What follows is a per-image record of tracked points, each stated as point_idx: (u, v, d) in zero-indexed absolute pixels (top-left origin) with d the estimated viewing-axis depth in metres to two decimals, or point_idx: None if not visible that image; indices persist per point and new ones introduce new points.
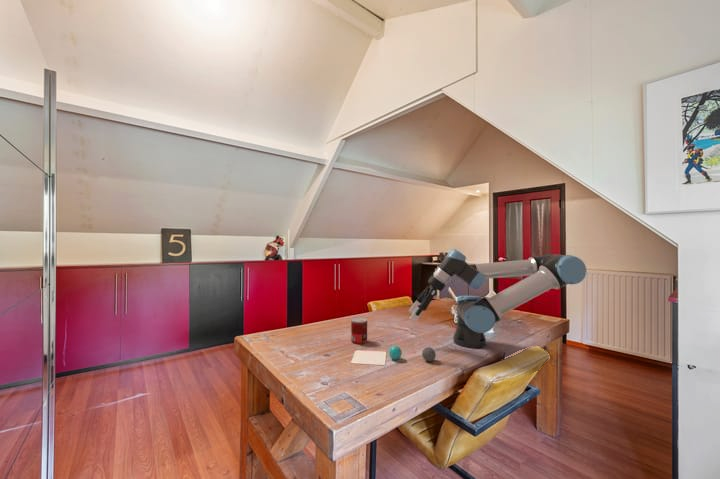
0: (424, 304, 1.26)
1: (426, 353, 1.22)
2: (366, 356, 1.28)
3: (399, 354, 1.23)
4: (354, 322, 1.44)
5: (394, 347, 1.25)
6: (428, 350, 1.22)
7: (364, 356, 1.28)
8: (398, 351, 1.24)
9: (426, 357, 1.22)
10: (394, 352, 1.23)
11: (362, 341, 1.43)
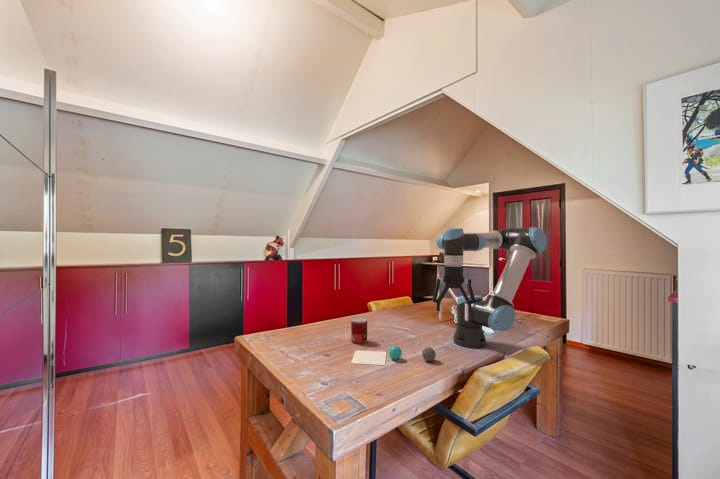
0: None
1: (426, 353, 1.22)
2: (366, 356, 1.28)
3: (399, 354, 1.23)
4: (354, 322, 1.44)
5: (394, 347, 1.25)
6: (428, 350, 1.22)
7: (364, 356, 1.28)
8: (398, 351, 1.24)
9: (426, 357, 1.22)
10: (394, 352, 1.23)
11: (362, 341, 1.43)
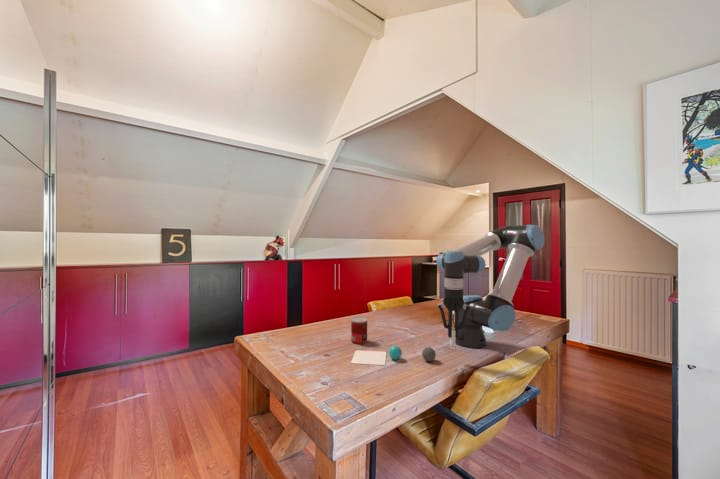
0: None
1: (426, 353, 1.22)
2: (366, 356, 1.28)
3: (399, 354, 1.23)
4: (354, 322, 1.44)
5: (394, 347, 1.25)
6: (428, 350, 1.22)
7: (364, 356, 1.28)
8: (398, 351, 1.24)
9: (426, 357, 1.22)
10: (394, 352, 1.23)
11: (362, 341, 1.43)
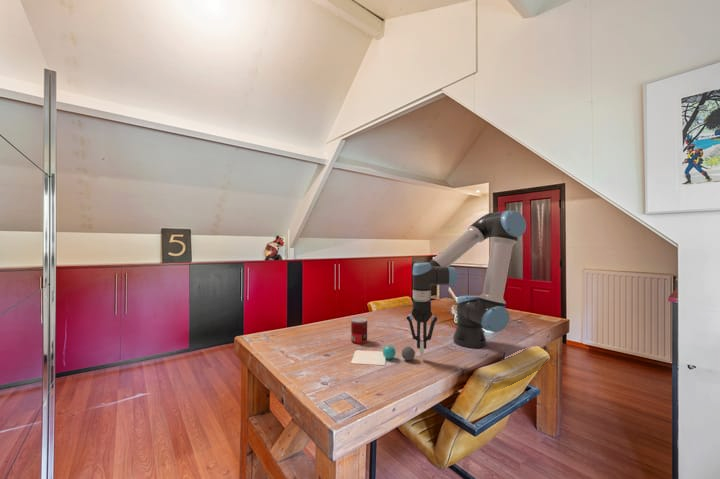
0: (431, 335, 1.23)
1: (410, 359, 1.22)
2: (366, 356, 1.28)
3: (391, 350, 1.24)
4: (354, 322, 1.44)
5: (383, 349, 1.25)
6: (407, 360, 1.23)
7: (364, 356, 1.28)
8: (388, 349, 1.24)
9: (411, 355, 1.22)
10: (386, 353, 1.24)
11: (362, 341, 1.43)
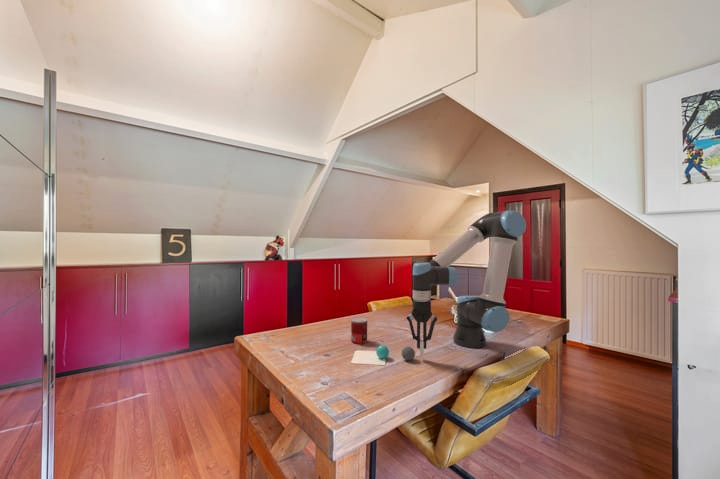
0: None
1: (410, 359, 1.22)
2: (366, 356, 1.28)
3: (380, 349, 1.25)
4: (354, 322, 1.44)
5: (377, 355, 1.26)
6: (407, 360, 1.23)
7: (364, 356, 1.28)
8: (378, 351, 1.25)
9: (411, 355, 1.22)
10: (380, 355, 1.24)
11: (362, 341, 1.43)
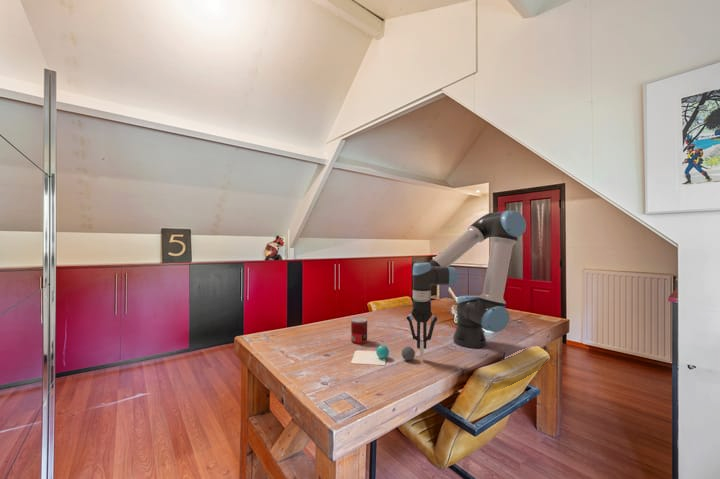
0: None
1: (410, 359, 1.22)
2: (366, 356, 1.28)
3: (380, 349, 1.25)
4: (354, 322, 1.44)
5: (377, 355, 1.26)
6: (407, 360, 1.23)
7: (364, 356, 1.28)
8: (378, 351, 1.25)
9: (411, 355, 1.22)
10: (380, 355, 1.24)
11: (362, 341, 1.43)
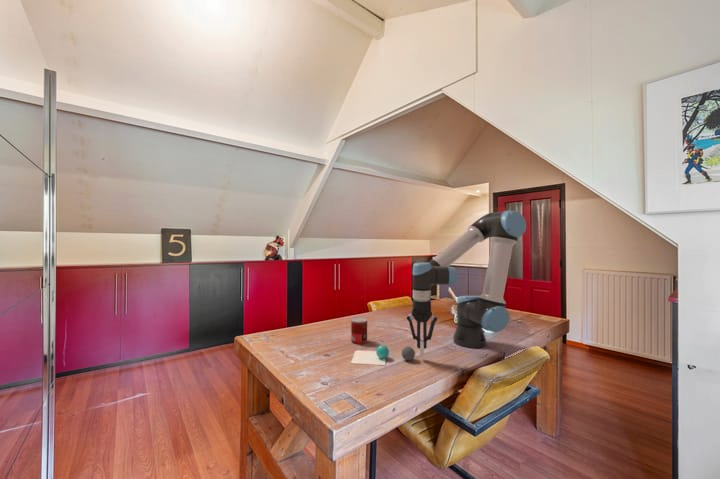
0: (431, 335, 1.23)
1: (410, 359, 1.22)
2: (366, 356, 1.28)
3: (380, 349, 1.25)
4: (354, 322, 1.44)
5: (377, 355, 1.26)
6: (407, 360, 1.23)
7: (364, 356, 1.28)
8: (378, 351, 1.25)
9: (411, 355, 1.22)
10: (380, 355, 1.24)
11: (362, 341, 1.43)
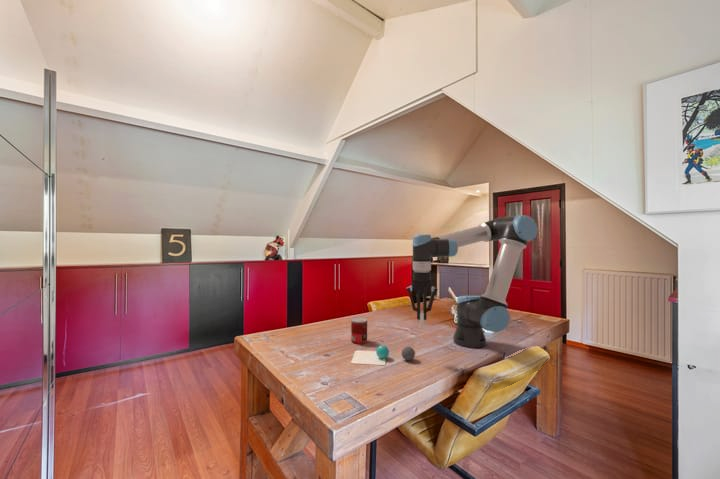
0: (431, 306, 1.23)
1: (410, 359, 1.22)
2: (366, 356, 1.28)
3: (380, 349, 1.25)
4: (354, 322, 1.44)
5: (377, 355, 1.26)
6: (407, 360, 1.23)
7: (364, 356, 1.28)
8: (378, 351, 1.25)
9: (411, 355, 1.22)
10: (380, 355, 1.24)
11: (362, 341, 1.43)
